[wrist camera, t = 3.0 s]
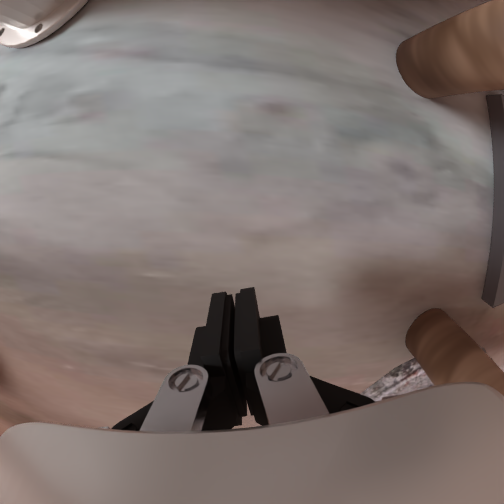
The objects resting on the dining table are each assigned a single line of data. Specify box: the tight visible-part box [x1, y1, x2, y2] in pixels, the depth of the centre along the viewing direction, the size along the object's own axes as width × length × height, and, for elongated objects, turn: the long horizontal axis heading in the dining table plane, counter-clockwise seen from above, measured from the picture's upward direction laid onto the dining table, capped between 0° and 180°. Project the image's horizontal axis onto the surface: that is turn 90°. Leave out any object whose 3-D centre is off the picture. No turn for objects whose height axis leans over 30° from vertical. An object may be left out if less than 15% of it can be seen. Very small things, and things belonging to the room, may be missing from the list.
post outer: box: [406, 308, 504, 396], centre depth 17 cm, size 5×5×14 cm
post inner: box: [396, 0, 504, 98], centre depth 9 cm, size 5×5×14 cm
